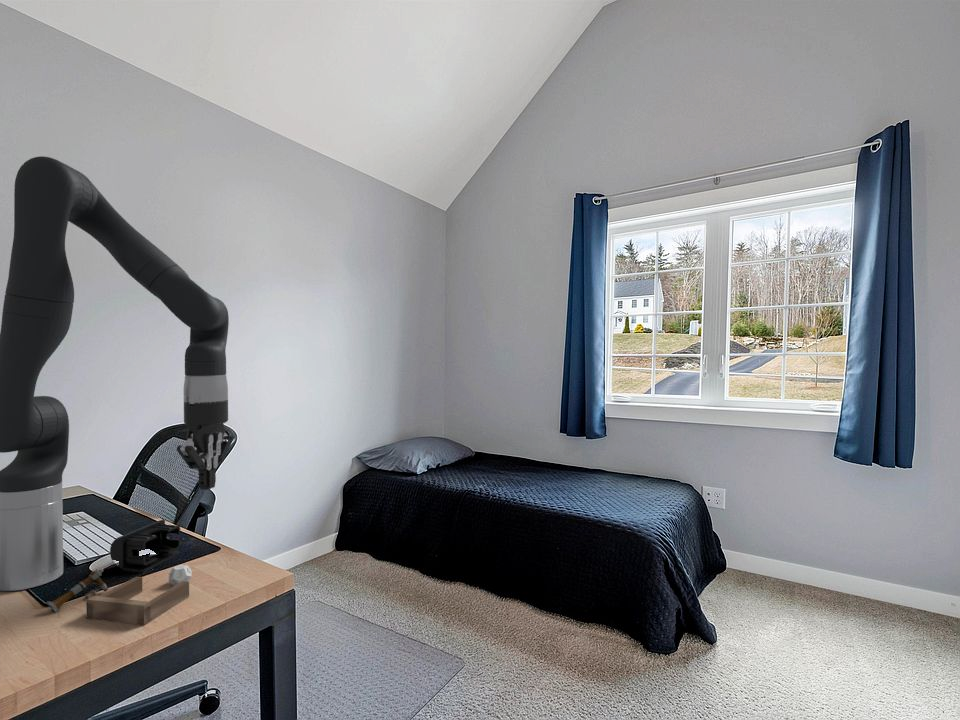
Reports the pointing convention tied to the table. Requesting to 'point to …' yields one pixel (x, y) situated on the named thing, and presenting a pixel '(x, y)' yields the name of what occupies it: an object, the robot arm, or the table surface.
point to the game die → (179, 574)
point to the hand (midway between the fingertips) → (207, 488)
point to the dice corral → (133, 603)
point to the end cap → (145, 547)
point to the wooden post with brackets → (94, 575)
